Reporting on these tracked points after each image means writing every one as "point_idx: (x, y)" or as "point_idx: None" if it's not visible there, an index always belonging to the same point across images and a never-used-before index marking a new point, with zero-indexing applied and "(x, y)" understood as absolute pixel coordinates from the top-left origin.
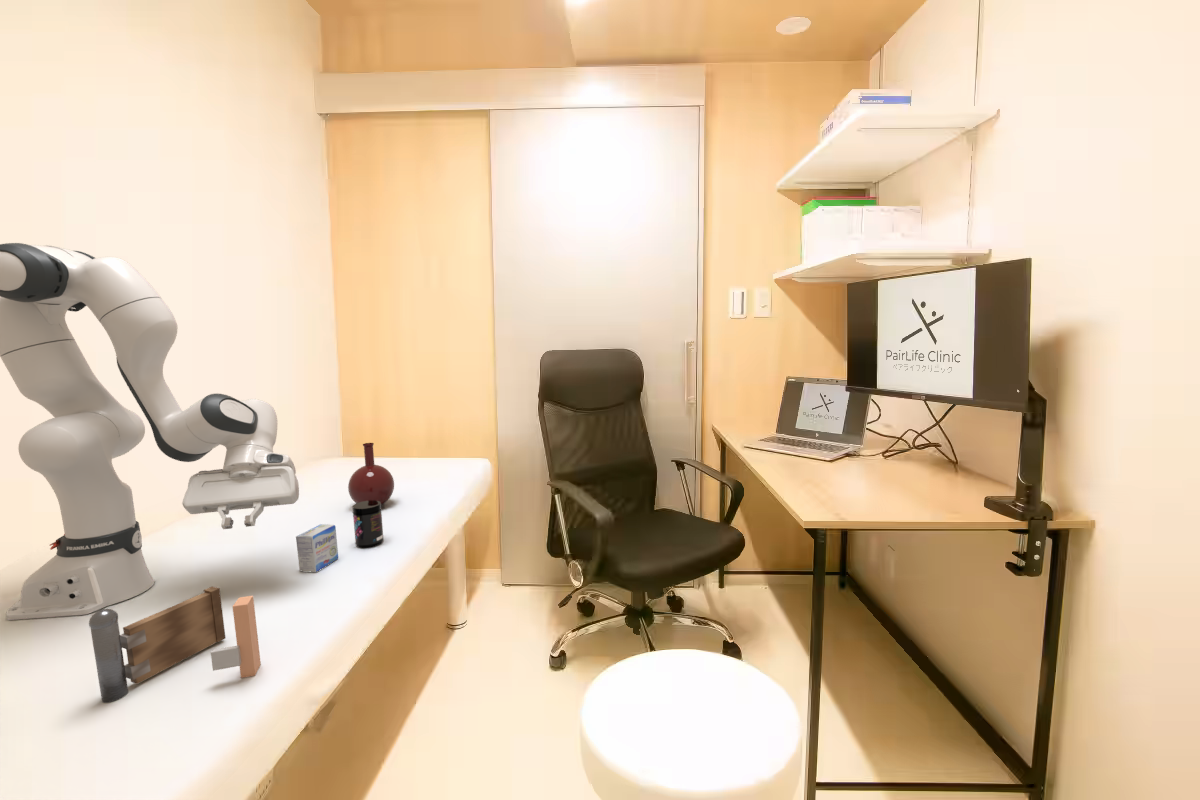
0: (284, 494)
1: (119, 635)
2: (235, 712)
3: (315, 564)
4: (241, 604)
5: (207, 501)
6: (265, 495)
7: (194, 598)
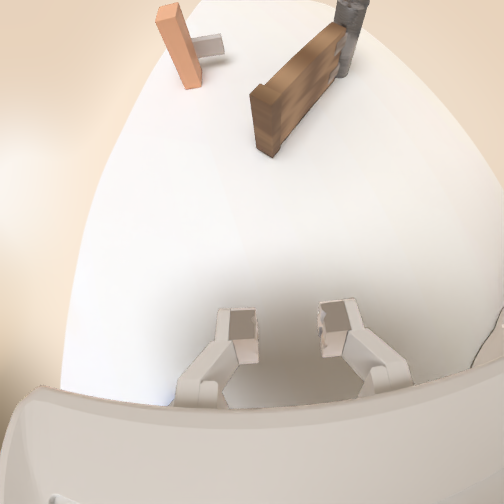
0: (50, 397)
1: (336, 17)
2: (191, 34)
3: (171, 402)
4: (166, 5)
5: (474, 383)
6: (133, 421)
7: (286, 76)
